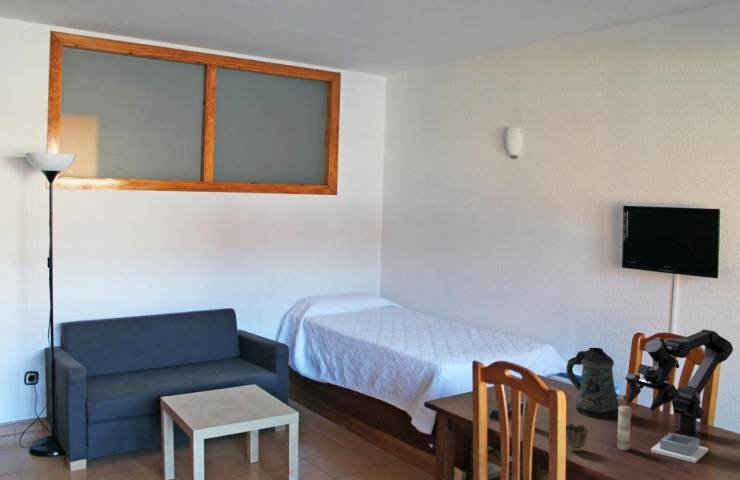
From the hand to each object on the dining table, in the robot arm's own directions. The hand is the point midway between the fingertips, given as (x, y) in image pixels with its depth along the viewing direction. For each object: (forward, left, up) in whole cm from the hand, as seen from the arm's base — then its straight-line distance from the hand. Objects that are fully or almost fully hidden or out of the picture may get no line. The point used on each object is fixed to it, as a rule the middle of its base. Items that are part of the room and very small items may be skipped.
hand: (639, 405), depth 237 cm
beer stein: (-24, -26, -14) cm, 38 cm away
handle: (+10, -36, -14) cm, 40 cm away
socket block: (-3, +13, -13) cm, 19 cm away
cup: (+20, -13, -14) cm, 28 cm away
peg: (+7, -2, -13) cm, 15 cm away
